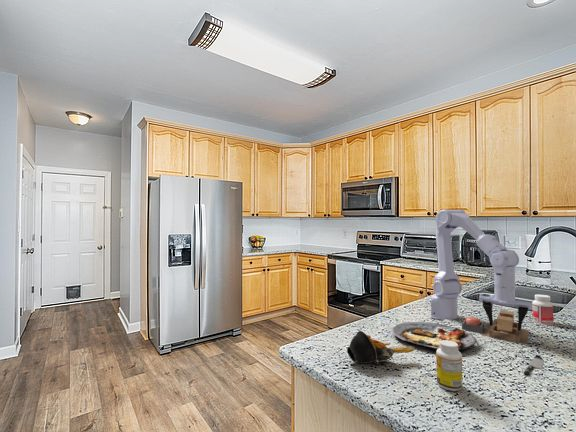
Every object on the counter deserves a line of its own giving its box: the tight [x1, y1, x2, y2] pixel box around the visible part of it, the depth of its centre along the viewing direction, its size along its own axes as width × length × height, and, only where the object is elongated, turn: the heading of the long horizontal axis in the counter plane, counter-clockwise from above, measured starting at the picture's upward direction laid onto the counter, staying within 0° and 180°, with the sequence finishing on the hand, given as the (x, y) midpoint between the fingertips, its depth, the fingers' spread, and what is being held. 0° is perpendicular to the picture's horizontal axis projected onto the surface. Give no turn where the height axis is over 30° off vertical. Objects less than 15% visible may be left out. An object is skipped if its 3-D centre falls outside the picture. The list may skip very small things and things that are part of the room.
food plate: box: [391, 321, 477, 351], centre depth 104 cm, size 25×23×4 cm
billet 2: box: [496, 315, 513, 334], centre depth 104 cm, size 4×4×6 cm
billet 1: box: [498, 309, 515, 327], centre depth 111 cm, size 4×4×6 cm
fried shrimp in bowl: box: [346, 330, 416, 365], centre depth 89 cm, size 9×11×18 cm
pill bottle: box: [531, 293, 555, 326], centre depth 118 cm, size 6×6×11 cm
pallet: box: [482, 318, 530, 345], centre depth 107 cm, size 12×16×3 cm
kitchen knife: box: [523, 354, 545, 376], centre depth 86 cm, size 19×1×3 cm
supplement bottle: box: [435, 340, 463, 392], centre depth 75 cm, size 6×6×10 cm
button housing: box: [461, 318, 485, 334], centre depth 111 cm, size 6×6×3 cm
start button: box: [465, 316, 481, 326], centre depth 111 cm, size 4×4×3 cm
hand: (504, 327), depth 104 cm, fingers open, 7 cm apart
